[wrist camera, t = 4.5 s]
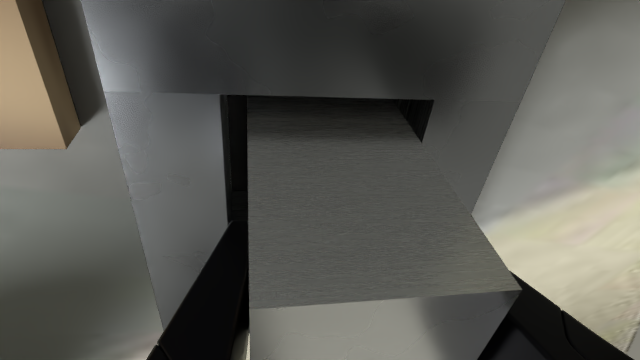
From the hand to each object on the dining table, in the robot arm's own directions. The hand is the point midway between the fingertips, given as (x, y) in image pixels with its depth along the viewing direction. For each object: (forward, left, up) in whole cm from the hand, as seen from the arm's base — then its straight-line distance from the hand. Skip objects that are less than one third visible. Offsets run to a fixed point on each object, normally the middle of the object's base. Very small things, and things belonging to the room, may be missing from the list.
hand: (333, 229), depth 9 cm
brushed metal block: (0, 0, -5) cm, 5 cm away
